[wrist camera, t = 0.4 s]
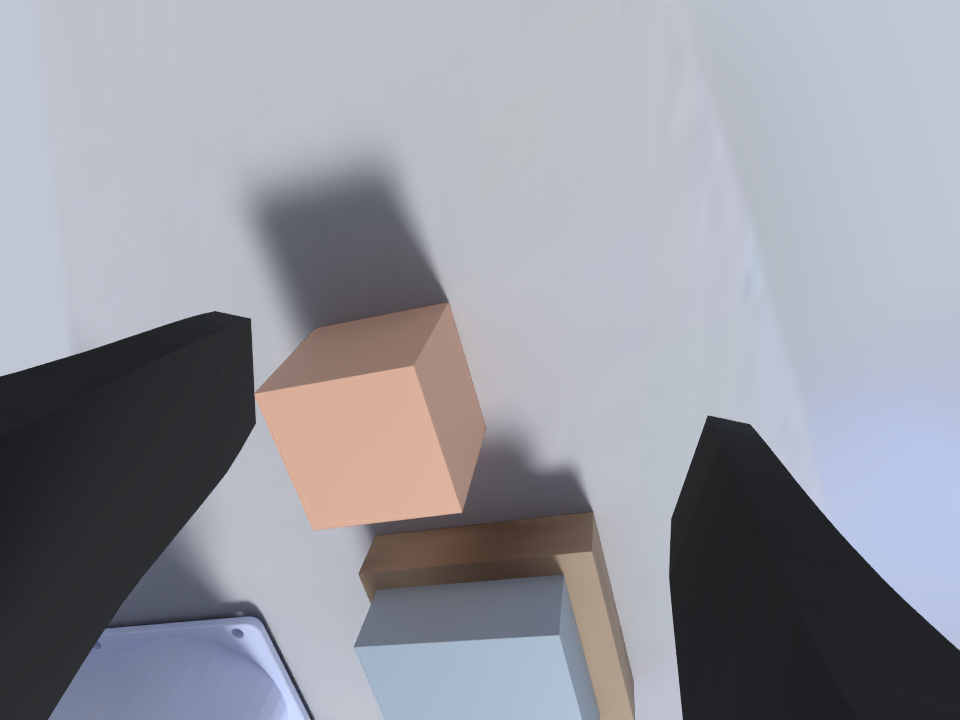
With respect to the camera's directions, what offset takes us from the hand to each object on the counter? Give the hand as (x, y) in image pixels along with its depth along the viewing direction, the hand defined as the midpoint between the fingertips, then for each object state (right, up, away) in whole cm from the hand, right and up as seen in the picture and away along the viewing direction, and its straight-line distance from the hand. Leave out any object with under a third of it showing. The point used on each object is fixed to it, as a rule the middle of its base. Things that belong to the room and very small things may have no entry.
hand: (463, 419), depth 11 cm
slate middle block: (+1, -9, +14) cm, 16 cm away
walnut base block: (+1, -8, +16) cm, 18 cm away
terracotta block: (-2, 0, +12) cm, 12 cm away
